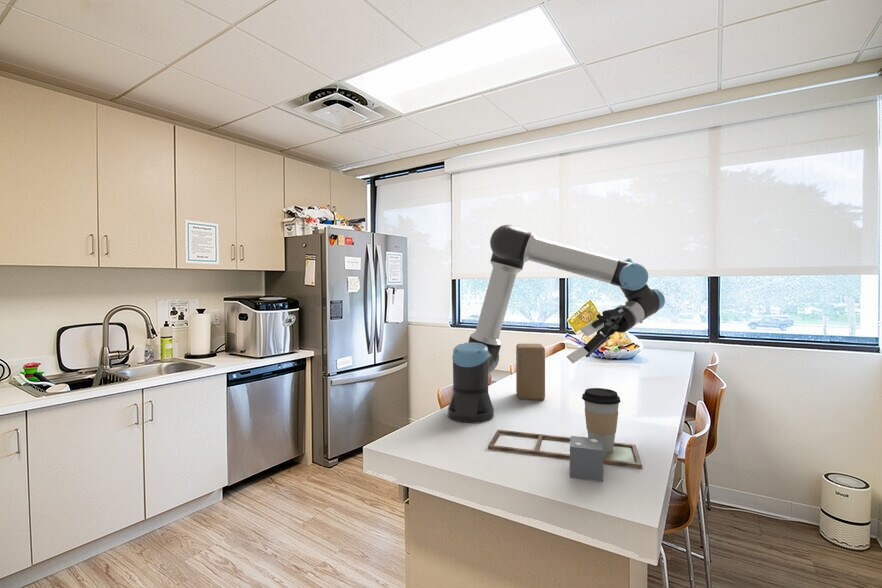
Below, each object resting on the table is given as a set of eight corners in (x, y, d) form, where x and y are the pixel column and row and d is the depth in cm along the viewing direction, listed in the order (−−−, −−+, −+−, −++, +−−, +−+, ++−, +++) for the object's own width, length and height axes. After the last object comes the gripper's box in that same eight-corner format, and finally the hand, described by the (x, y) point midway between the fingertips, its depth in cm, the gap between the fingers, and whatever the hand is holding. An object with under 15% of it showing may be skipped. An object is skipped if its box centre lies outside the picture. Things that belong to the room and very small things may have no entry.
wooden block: (541, 393, 164) (541, 343, 164) (545, 400, 154) (545, 347, 154) (516, 393, 165) (516, 343, 165) (518, 400, 155) (518, 347, 155)
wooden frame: (488, 448, 110) (488, 445, 110) (497, 432, 122) (497, 429, 122) (642, 468, 98) (642, 464, 98) (635, 447, 110) (635, 444, 110)
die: (569, 477, 93) (569, 445, 93) (570, 464, 100) (570, 435, 100) (603, 481, 91) (603, 449, 91) (601, 468, 98) (601, 438, 98)
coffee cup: (626, 448, 108) (626, 391, 108) (609, 459, 102) (610, 398, 102) (592, 438, 115) (592, 385, 115) (574, 448, 109) (575, 391, 109)
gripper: (652, 298, 117) (601, 329, 108) (619, 348, 135) (573, 378, 127) (631, 281, 121) (580, 310, 112) (601, 332, 139) (556, 360, 131)
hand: (576, 346), depth 119 cm, fingers open, 13 cm apart
